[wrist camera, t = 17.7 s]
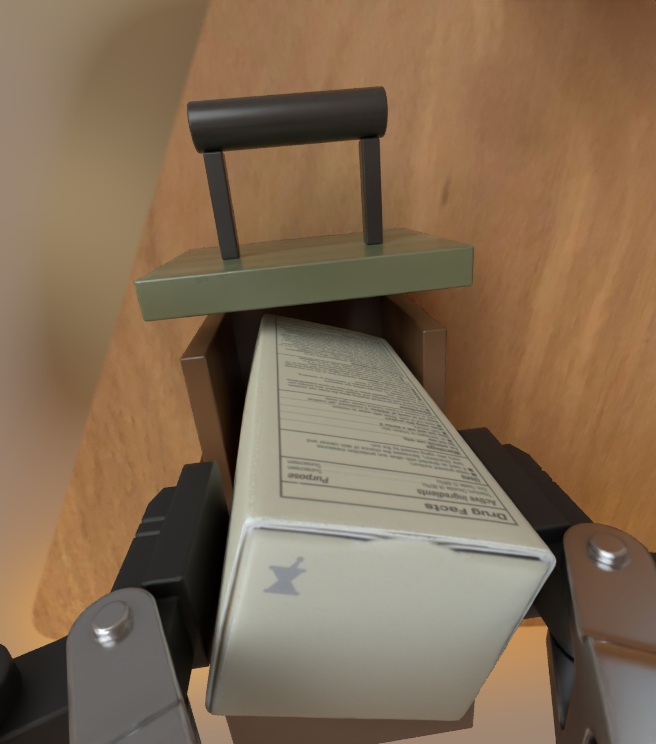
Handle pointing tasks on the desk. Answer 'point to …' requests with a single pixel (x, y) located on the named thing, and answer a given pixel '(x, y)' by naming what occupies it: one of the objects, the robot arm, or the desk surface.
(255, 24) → the desk surface
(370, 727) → the cabinet
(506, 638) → the box
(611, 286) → the desk surface
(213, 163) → the drawer
